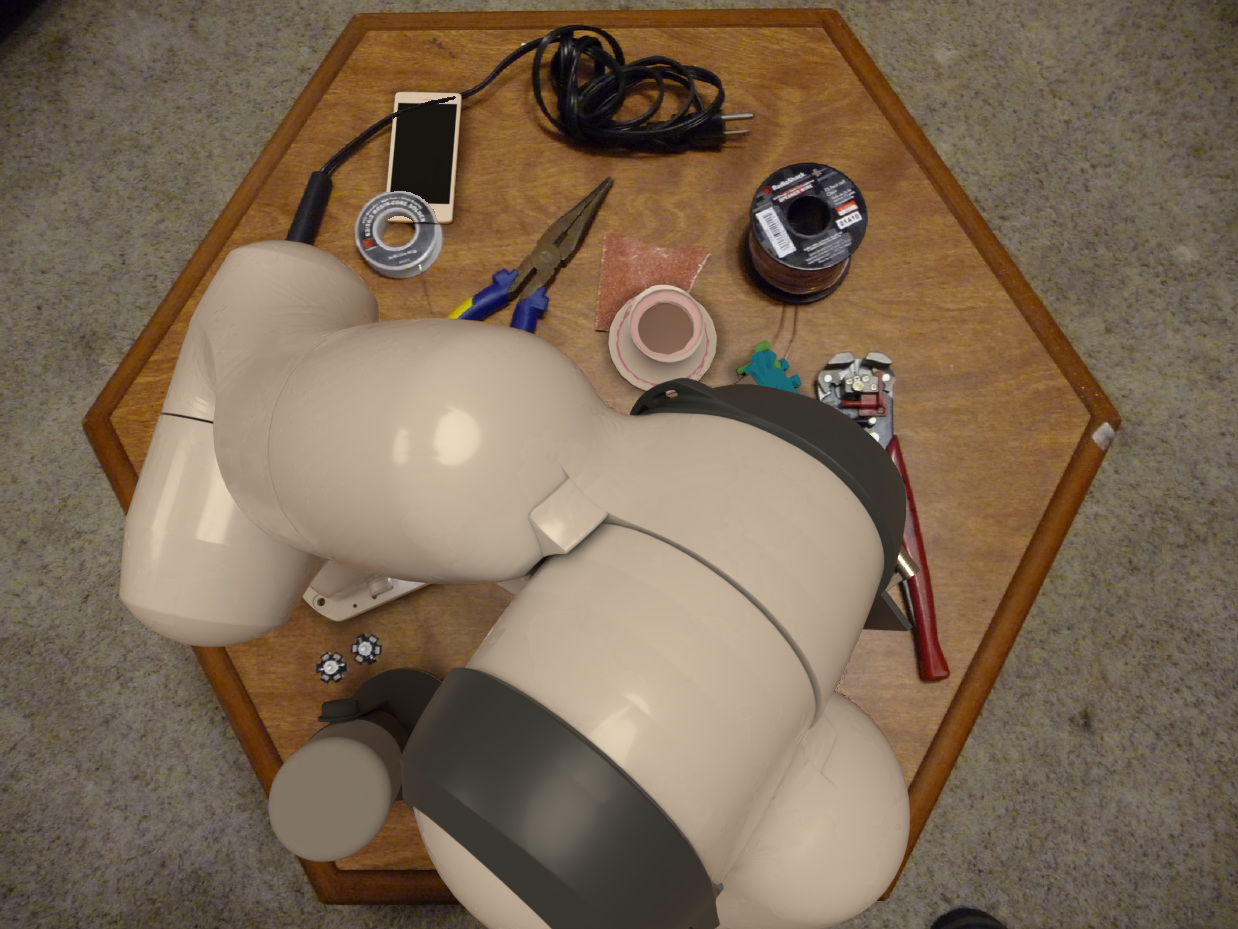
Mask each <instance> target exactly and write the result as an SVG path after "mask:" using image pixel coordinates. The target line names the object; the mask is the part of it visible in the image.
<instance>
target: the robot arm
mask: <svg viewBox="0 0 1238 929" xmlns="http://www.w3.org/2000/svg"><path fill="white" fill-rule="evenodd" d="M379 312H380V311H379V302H378V299H377V297H376V296H375V294H374V292H373V291H372V289H371V288H370V286H369V285H368V283H367V282H366V281H365V279H363V278H362V277H361V275H360V274H358V272H357V271H356V270H355V269H354V268H352V267H351V266H350V265H349V264H348V263H347V262H345V261H344V260H342V259H341V258H339V257H337V255H334V254H333V253H330V252H329V251H327V250H325V249H323V248H320V247H317V246H315V245H312V244H309V243H304V242H300V241H294V240H285V239H270V240H269V239H267V240H261V241H255V242H251V243H247V244H243V245H241V246H237V247H236V248H233V249H232V250H230V251H229V252H228V254H227V255H226V257H225V258H224V260H223V262H222V264H220V267H219V268H218V270H217V272H216V273H215V275H214V276H213V278H212V280H211V281H210V283H209V285H208V286H207V288H206V289H205V292H204V293H203V295H202V297H201V298H200V301H199V302H198V304H197V306H196V308H195V310H194V312H193V313H192V315H191V317H190V320H189V323H188V326H187V329H186V331H185V336H184V339H183V343H182V345H181V348H180V351H179V353H178V354H179V355H178V358H177V361H176V364H175V367H174V370H173V373H172V376H171V380H170V383H169V386H168V389H167V393H166V395H165V399H164V401H163V405H162V407H161V411H160V414H159V415H158V417H157V420H156V423H155V426H154V430H153V433H152V436H151V439H150V442H149V446H148V449H147V450H146V451H147V452H146V455H145V458H144V461H143V464H142V467H141V470H140V474H139V476H138V478H137V479H138V480H137V482H136V486H135V488H134V491H133V495H132V497H131V502H130V504H129V507H128V510H127V514H126V517H125V522H124V523H125V524H124V531H123V541H122V551H121V561H120V562H121V564H120V575H119V576H120V577H119V593H118V596H119V598H120V600H121V601H122V603H123V604H124V606H125V608H126V609H127V610H128V611H129V612H130V613H131V614H132V616H133V617H134V618H136V619H137V620H138V621H139V622H140V623H142V625H144V626H145V627H146V628H148V629H150V630H151V631H153V632H154V633H156V634H158V635H160V636H162V637H164V638H165V639H168V640H171V641H175V642H177V643H181V644H184V645H188V646H195V647H202V648H203V647H204V648H223V647H230V646H237V645H242V644H246V643H249V642H252V641H256V640H259V639H260V638H263V637H266V636H268V635H269V634H271V633H273V632H275V631H277V630H278V629H281V628H282V627H283V626H285V625H286V624H287V623H288V622H289V620H290V619H291V617H292V615H293V614H294V612H295V610H296V609H297V607H298V605H299V603H300V602H301V600H302V598H303V600H304V601H305V602H306V603H307V604H308V605H309V606H310V607H311V608H312V609H314V610H315V611H316V612H317V613H319V614H320V615H322V616H323V617H325V618H327V619H329V620H331V621H334V622H339V623H341V622H345V621H348V620H350V619H353V618H356V617H357V616H360V615H362V614H364V613H366V612H369V611H371V610H374V609H376V608H378V607H381V606H383V605H385V604H387V603H390V602H392V601H394V600H397V599H399V598H401V597H403V596H406V595H409V594H410V593H413V592H416V591H417V590H420V589H423V588H424V587H427V586H429V585H464V586H465V585H466V586H467V585H480V584H496V585H498V586H499V587H501V588H503V589H505V590H506V591H508V592H510V594H512V595H514V598H513V599H512V600H511V601H510V603H509V604H508V606H507V607H506V608H505V610H504V611H503V612H502V613H501V615H500V616H499V617H498V619H497V620H496V621H495V623H494V624H493V626H492V627H491V629H490V630H489V631H488V633H487V634H486V636H485V637H484V638H483V640H482V642H481V643H480V644H479V645H478V647H477V649H475V652H474V653H473V654H472V656H471V658H470V659H469V661H468V662H467V663H466V665H465V667H463V666H456V667H453V668H451V669H450V670H449V671H448V673H447V675H446V676H445V678H444V679H443V680H442V683H441V685H440V686H439V688H438V689H437V691H436V692H435V694H434V695H433V697H432V699H431V700H430V702H429V704H428V705H427V707H426V708H425V710H424V712H423V713H422V715H421V717H420V718H419V720H418V722H417V724H416V726H415V728H414V730H413V732H412V734H411V735H410V737H409V739H408V742H407V744H406V746H405V749H404V751H403V753H402V755H401V758H400V765H401V778H402V791H403V800H404V801H403V802H404V803H405V805H406V806H407V807H408V809H409V810H410V811H411V812H412V813H413V814H414V817H415V821H416V823H417V827H418V832H419V834H420V837H421V840H422V842H423V844H424V847H425V850H426V852H427V854H428V857H429V859H430V860H431V862H432V865H433V866H434V868H435V870H436V871H437V873H438V875H439V877H440V878H441V880H442V881H443V883H444V884H445V885H446V886H447V888H448V889H449V892H451V893H452V895H453V896H454V898H455V899H456V900H457V901H458V902H459V903H460V904H461V905H462V906H463V907H464V908H465V909H466V910H467V911H468V913H470V915H471V916H473V917H474V918H475V919H477V921H478V922H480V923H481V924H483V926H485V927H486V928H487V929H826V928H827V929H828V928H829V927H832V926H835V925H838V924H841V923H844V922H846V921H848V920H850V919H852V918H854V917H856V916H858V915H860V914H861V913H863V912H865V911H866V910H867V909H868V908H870V907H871V906H872V905H873V904H875V903H876V902H877V901H878V900H879V899H880V898H881V897H882V896H883V895H884V893H886V891H887V890H888V889H889V887H890V885H891V884H892V882H893V881H894V879H895V878H896V876H897V874H898V873H899V869H900V868H901V865H902V864H903V860H904V857H905V853H906V851H907V847H908V843H909V836H910V831H911V806H910V796H909V792H908V786H907V781H906V778H905V774H904V771H903V769H902V765H901V763H900V761H899V758H898V757H897V753H896V751H895V750H894V747H893V746H892V745H891V742H890V741H889V739H888V738H887V736H886V735H885V733H884V732H883V730H882V729H881V727H880V726H879V725H878V724H877V723H876V721H875V720H874V719H873V718H872V717H871V716H870V715H869V713H867V712H866V711H865V710H864V708H863V709H862V707H861V706H859V705H858V704H857V703H856V702H854V701H852V700H851V699H850V698H848V697H847V696H845V695H844V694H843V693H840V692H839V691H837V690H836V689H837V687H838V685H839V683H840V681H841V679H842V676H843V674H844V672H845V670H846V668H847V665H848V663H849V662H850V659H851V658H852V655H853V653H854V651H855V648H856V646H857V644H858V642H859V640H860V636H861V634H862V632H863V630H864V629H863V627H864V624H865V622H866V619H867V617H868V614H869V612H870V609H871V607H872V604H873V601H874V599H876V598H877V597H878V596H879V595H881V594H882V593H883V592H884V590H885V589H886V588H887V586H888V585H889V583H890V581H891V578H892V576H893V573H894V569H895V566H896V563H897V559H898V556H899V553H900V549H901V544H902V543H903V539H904V536H905V535H904V534H905V528H906V520H907V491H906V487H905V484H904V480H903V477H902V475H901V473H900V471H899V468H898V467H897V465H896V463H895V461H894V460H893V459H892V457H891V455H890V454H889V453H888V451H887V450H886V449H885V447H883V445H882V444H881V443H879V441H878V440H877V439H876V438H875V437H874V436H873V435H872V434H871V433H869V432H868V430H866V429H865V428H863V427H862V425H860V424H859V423H857V422H856V420H854V419H852V418H851V416H849V415H847V414H845V413H844V412H842V411H841V410H839V409H838V408H836V407H834V406H833V405H830V404H829V403H825V402H824V401H822V400H820V399H817V398H813V397H811V396H808V395H807V396H808V397H807V396H804V395H801V394H802V393H800V394H797V393H794V392H790V391H785V390H781V389H777V388H772V387H767V386H761V385H752V384H734V383H732V384H727V385H720V386H714V387H712V386H709V385H707V384H705V383H703V382H701V381H696V380H693V379H689V378H677V379H673V380H670V381H666V382H663V383H660V384H658V385H655V386H654V387H652V388H650V389H649V390H647V391H644V392H643V393H642V394H641V395H640V396H639V397H638V399H636V401H635V403H634V404H633V405H632V408H631V409H630V411H629V414H626V413H623V412H621V411H620V412H619V411H617V410H616V409H614V408H612V407H611V406H610V405H608V404H607V403H606V402H605V401H604V400H603V398H602V397H601V396H600V394H599V393H598V392H597V390H596V389H595V386H594V385H593V383H592V382H591V380H590V379H589V377H588V376H587V375H586V373H585V371H583V369H582V367H580V366H579V365H578V364H577V362H576V361H575V360H574V359H573V358H572V357H571V356H569V354H568V353H565V352H564V351H563V350H562V349H561V348H559V347H558V346H557V345H556V344H555V343H553V342H551V341H549V340H547V339H545V338H543V337H542V336H539V335H537V334H534V333H532V332H529V331H526V330H524V329H521V328H518V327H517V328H516V327H513V326H512V327H511V326H508V325H502V324H498V323H497V324H496V323H491V322H486V321H483V320H482V321H481V320H473V319H464V318H463V319H462V318H452V317H451V318H449V317H413V318H399V319H398V318H397V319H388V320H380V319H379V316H380V315H379V314H380V313H379ZM670 390H674V391H676V392H675V393H676V394H677V395H675V396H669V395H668V394H666V392H667V391H670ZM902 545H903V544H902ZM322 599H324V604H323V605H322V604H321V600H322Z"/></svg>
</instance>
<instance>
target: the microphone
mask: <svg viewBox="0 0 1238 929" xmlns="http://www.w3.org/2000/svg"><path fill="white" fill-rule="evenodd" d="M442 682H443V680H441V679H440V678H437V677H436V676H435V675H433V674H431V673H429V672H426V671H424V670H420V669H416V668H408V667H405V668H404V667H402V668H401V667H400V668H393V669H389V670H385V671H383V672H380V673H378V674H376V675H374V676H372V677H370V678H369V679H367V680H365V681H364V682H363V683H362V684H361V685H360V686H359V687H357V689H356V690H355V691H354V692H353V693H352V694H351V696H350V697H347V698H338V699H331V700H327V701H324V702H322V704H321V715H319V716H317V722H318V723H328V724H326V725H324V726H323V727H321V728H320V729H319V730H317V731H316V732H315V733H314V734H313V735H312V736H311V737H310V738H309V739H308V740H307V742H305V743H304V744H302V745H301V746H300V747H299V748H297V749H296V750H295V751H294V752H293V753H292V754H291V755H289V757H288V758H287V759H286V760H285V761H284V762H283V764H282V765H281V767H279V769H278V771H277V772H276V775H275V776H274V779H273V781H272V784H271V786H270V789H269V790H270V791H269V796H268V803H267V804H268V806H267V808H268V809H267V810H268V817H269V823H270V826H271V829H272V830H273V833H274V834H275V836H276V838H277V839H278V840H279V842H280V843H281V844H282V846H284V847H285V848H286V849H287V850H288V851H289V852H291V853H292V854H294V855H295V856H297V857H299V858H302V859H304V860H307V861H311V862H319V863H325V862H326V863H327V862H335V861H340V860H343V859H345V858H348V857H351V856H353V855H355V854H356V853H358V852H360V851H361V850H362V849H364V848H365V847H366V846H367V845H369V844H370V843H371V842H372V841H373V840H374V839H375V838H376V837H377V835H378V834H379V833H380V831H381V829H382V828H383V826H384V825H385V823H386V821H387V818H388V817H389V814H390V812H391V810H392V808H393V806H394V804H395V802H400V801H403V802H404V800H403V791H402V778H401V765H400V758H401V755H402V753H403V751H404V749H405V746H406V744H407V742H408V739H409V737H410V735H411V734H412V732H413V730H414V728H415V726H416V724H417V722H418V720H419V718H420V717H421V715H422V713H423V712H424V710H425V708H426V707H427V705H428V704H429V702H430V700H431V699H432V697H433V695H434V694H435V692H436V691H437V689H438V688H439V686H440V685H441V683H442Z"/></svg>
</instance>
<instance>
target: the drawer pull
mask: <svg viewBox="0 0 1238 929" xmlns="http://www.w3.org/2000/svg"><path fill="white" fill-rule="evenodd" d="M920 570H921V569H920V567H919V565H918V564H917V563H916V561H915V559H913V558H912V556H911V555H910V554H909V552H908V551H907V550H906V548H905V547H904V545H903V544H901V549H900V553H899V556H898V559H897V563H896V566H895V569H894V573H893V576H892V578H891V581H890V583H889V585H888V586H887V588H886V589H885V590H884V592H883V593H882V594H881V595H879V596H878V597H877V598H876V599H874V601H873V604H872V607H871V609H870V612H869V614H868V617H867V619H866V622H865V624H864V627H863V629H862V630H870V631H888V632H889V631H890V632H891V631H892V632H893V631H894V632H909V631H910V630H911V629H913V628H914V626H913V625H912V623H911V622H910V621H909V619H908V618H907V617H906V615H905V613H903V610H901V608H900V607H899V606H898V605H897V603H896V602H895V600H894V599H893V598H892V596H891V595H890V593H889V592H888V591H890V590H892V588H894V587H895V586H897V585H898V584H899V583H901V582H904V581H907V580H909V579H911V578H913V577H914V576H916V575H917V574H918V573H919V572H920Z"/></svg>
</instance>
